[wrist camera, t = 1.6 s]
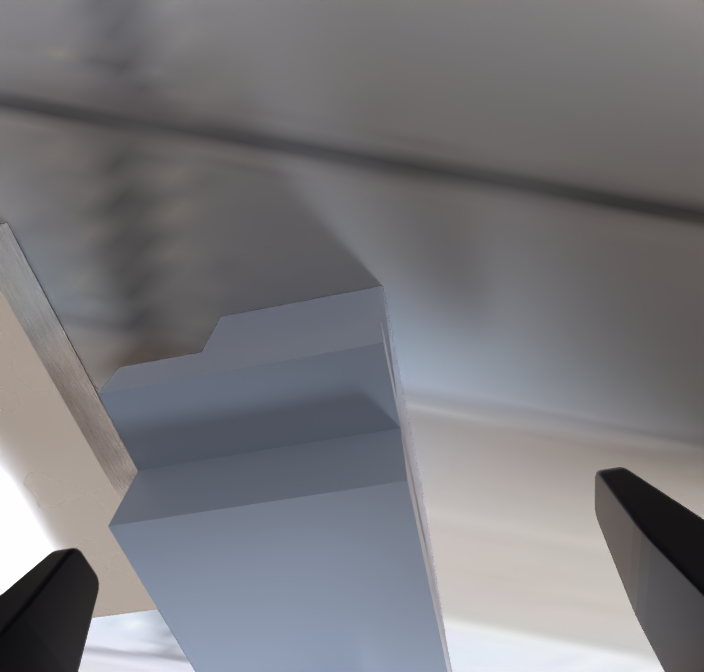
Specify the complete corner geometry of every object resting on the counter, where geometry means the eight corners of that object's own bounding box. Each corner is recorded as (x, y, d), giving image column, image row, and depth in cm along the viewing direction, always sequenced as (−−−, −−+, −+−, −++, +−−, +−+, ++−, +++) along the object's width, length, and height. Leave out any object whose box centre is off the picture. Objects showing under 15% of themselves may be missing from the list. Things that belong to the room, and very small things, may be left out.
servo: (201, 262, 10) (12, 503, 5) (371, 227, 10) (393, 441, 4) (302, 541, 14) (266, 866, 8) (428, 523, 13) (481, 848, 8)
